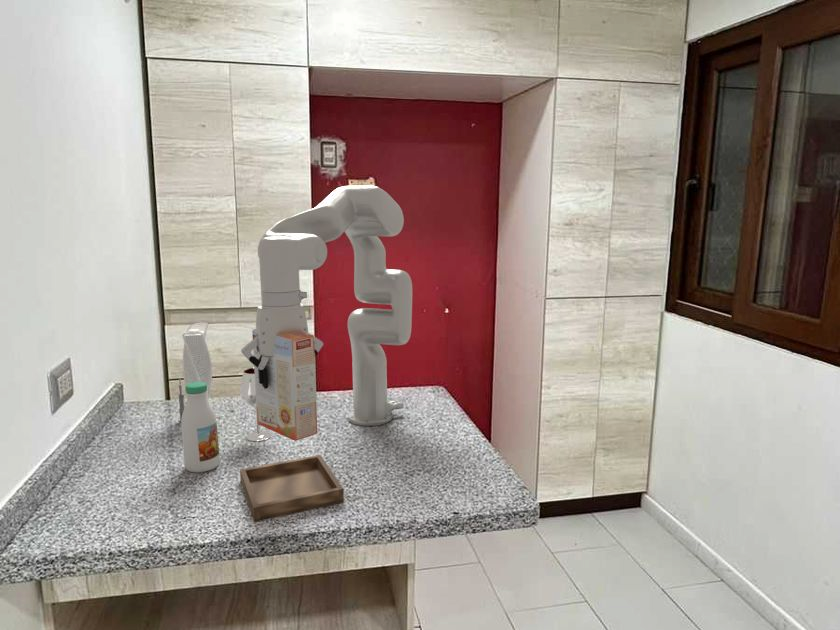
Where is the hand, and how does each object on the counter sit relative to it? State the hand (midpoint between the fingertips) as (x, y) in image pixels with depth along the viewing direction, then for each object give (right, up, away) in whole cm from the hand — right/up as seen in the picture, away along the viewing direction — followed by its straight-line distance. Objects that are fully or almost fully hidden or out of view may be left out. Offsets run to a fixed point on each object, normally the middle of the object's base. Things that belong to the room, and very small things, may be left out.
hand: (285, 383), depth 121 cm
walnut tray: (0, -24, +5) cm, 24 cm away
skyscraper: (-34, -16, +46) cm, 59 cm away
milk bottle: (-23, -21, +17) cm, 36 cm away
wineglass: (-15, -18, +34) cm, 41 cm away
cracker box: (0, -10, +2) cm, 10 cm away
